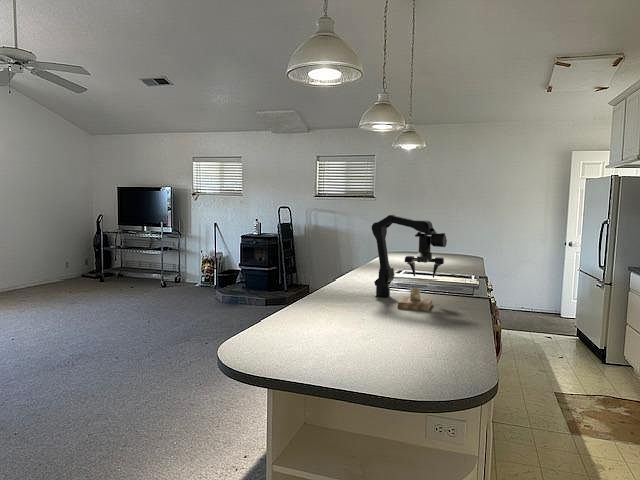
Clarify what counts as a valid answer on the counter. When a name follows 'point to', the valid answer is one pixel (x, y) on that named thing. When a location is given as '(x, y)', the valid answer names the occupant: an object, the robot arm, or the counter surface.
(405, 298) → the seat block
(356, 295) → the counter surface
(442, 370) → the counter surface
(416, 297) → the peg
